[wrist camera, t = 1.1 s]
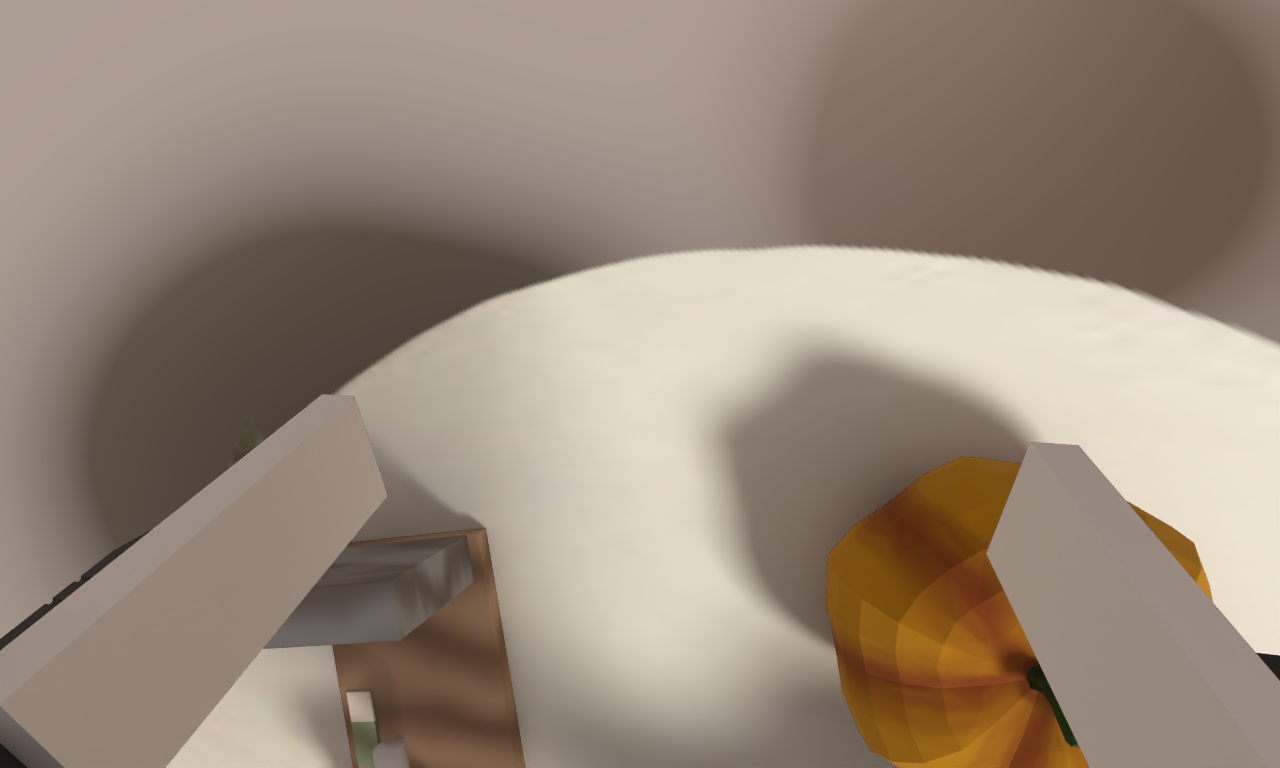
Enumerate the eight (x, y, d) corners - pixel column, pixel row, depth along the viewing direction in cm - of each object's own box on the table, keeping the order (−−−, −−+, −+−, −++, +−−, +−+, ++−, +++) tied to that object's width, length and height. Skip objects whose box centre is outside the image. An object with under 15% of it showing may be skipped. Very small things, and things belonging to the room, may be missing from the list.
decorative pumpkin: (1207, 614, 38) (1493, 778, 23) (933, 781, 42) (1028, 1010, 27) (998, 385, 40) (1139, 404, 25) (755, 567, 44) (755, 673, 29)
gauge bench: (544, 887, 49) (481, 1046, 38) (385, 880, 52) (284, 1024, 41) (483, 516, 48) (401, 566, 37) (326, 534, 52) (207, 583, 40)
